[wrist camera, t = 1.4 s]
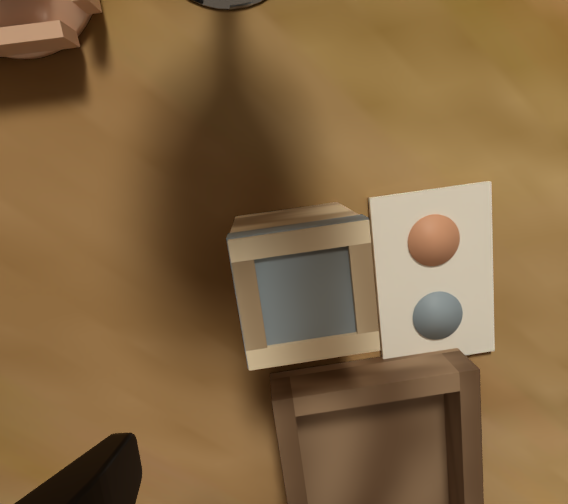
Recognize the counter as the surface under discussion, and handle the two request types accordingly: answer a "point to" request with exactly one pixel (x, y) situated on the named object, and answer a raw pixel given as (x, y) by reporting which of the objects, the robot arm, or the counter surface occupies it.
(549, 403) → the counter surface
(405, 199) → the card
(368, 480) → the open box
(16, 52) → the dish
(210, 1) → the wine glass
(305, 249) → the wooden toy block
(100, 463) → the robot arm
